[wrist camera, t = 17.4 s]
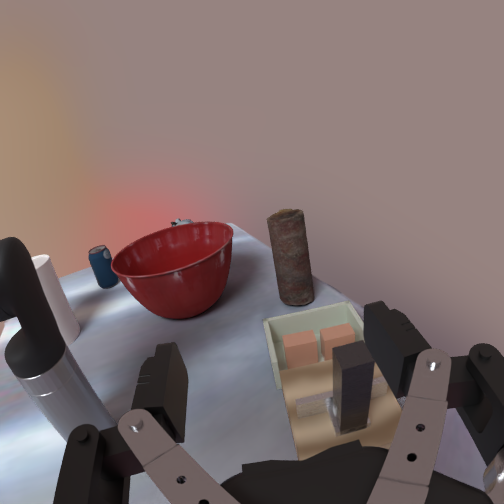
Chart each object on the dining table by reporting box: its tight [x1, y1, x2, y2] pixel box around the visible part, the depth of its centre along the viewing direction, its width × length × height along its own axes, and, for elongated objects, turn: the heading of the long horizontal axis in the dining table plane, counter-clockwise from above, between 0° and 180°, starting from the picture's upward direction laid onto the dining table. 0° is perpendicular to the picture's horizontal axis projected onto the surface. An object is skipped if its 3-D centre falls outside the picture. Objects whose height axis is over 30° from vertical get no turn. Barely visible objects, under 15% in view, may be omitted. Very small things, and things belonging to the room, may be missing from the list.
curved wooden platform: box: [279, 359, 402, 461], centre depth 39 cm, size 17×14×4 cm
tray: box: [263, 301, 365, 389], centre depth 51 cm, size 11×16×6 cm
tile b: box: [320, 323, 355, 361], centre depth 50 cm, size 5×5×3 cm
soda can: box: [89, 245, 119, 289], centre depth 91 cm, size 7×7×12 cm
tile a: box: [282, 330, 318, 369], centre depth 50 cm, size 5×5×3 cm
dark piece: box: [295, 340, 388, 437], centre depth 33 cm, size 5×12×12 cm, turn 95°
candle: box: [267, 209, 314, 305], centre depth 66 cm, size 8×7×20 cm
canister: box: [32, 254, 80, 346], centre depth 65 cm, size 14×14×20 cm
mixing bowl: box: [111, 222, 233, 319], centre depth 73 cm, size 28×28×15 cm
